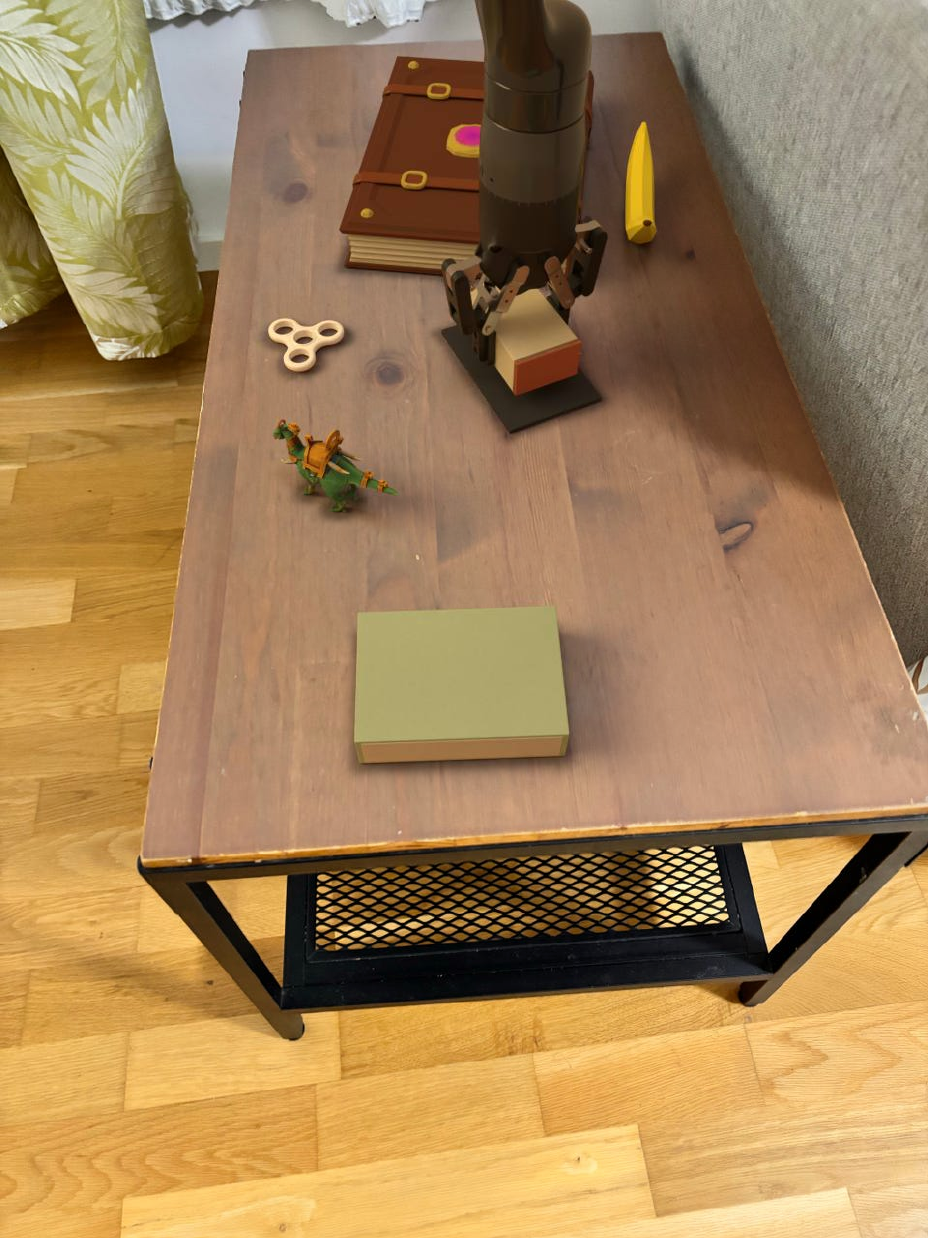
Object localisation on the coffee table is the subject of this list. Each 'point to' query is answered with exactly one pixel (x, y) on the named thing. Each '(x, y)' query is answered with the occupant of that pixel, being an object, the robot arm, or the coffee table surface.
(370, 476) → the figurine
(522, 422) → the felt pad
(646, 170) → the banana
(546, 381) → the top book
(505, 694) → the bottom book
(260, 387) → the coffee table surface
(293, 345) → the fidget spinner
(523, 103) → the robot arm
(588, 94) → the book
